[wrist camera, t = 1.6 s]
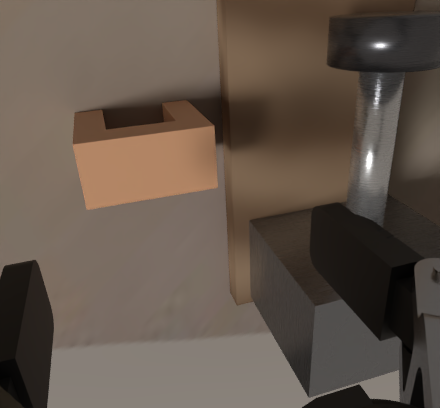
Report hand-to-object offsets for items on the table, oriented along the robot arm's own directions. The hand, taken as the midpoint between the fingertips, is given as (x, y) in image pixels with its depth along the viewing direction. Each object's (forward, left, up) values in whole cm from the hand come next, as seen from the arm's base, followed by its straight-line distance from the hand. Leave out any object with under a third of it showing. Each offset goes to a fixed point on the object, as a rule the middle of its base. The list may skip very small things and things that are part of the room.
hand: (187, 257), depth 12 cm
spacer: (0, 0, -13) cm, 13 cm away
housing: (+9, +11, -11) cm, 18 cm away
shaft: (0, +11, -9) cm, 14 cm away
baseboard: (0, +11, -13) cm, 17 cm away
